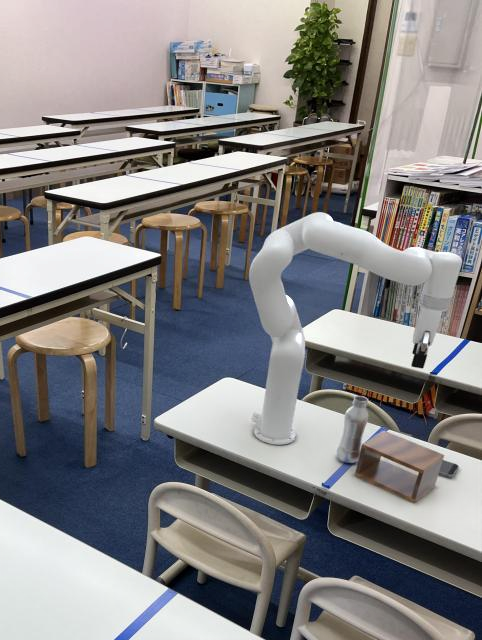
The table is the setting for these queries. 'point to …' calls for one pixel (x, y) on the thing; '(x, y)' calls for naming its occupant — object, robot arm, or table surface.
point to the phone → (448, 469)
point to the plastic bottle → (353, 430)
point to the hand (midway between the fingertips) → (417, 360)
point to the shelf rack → (394, 476)
